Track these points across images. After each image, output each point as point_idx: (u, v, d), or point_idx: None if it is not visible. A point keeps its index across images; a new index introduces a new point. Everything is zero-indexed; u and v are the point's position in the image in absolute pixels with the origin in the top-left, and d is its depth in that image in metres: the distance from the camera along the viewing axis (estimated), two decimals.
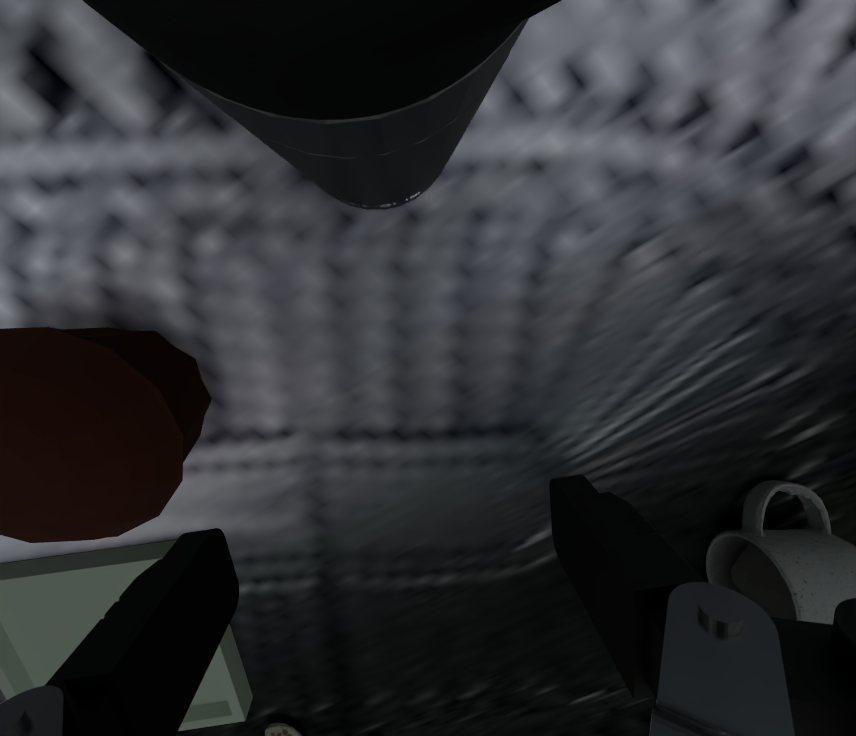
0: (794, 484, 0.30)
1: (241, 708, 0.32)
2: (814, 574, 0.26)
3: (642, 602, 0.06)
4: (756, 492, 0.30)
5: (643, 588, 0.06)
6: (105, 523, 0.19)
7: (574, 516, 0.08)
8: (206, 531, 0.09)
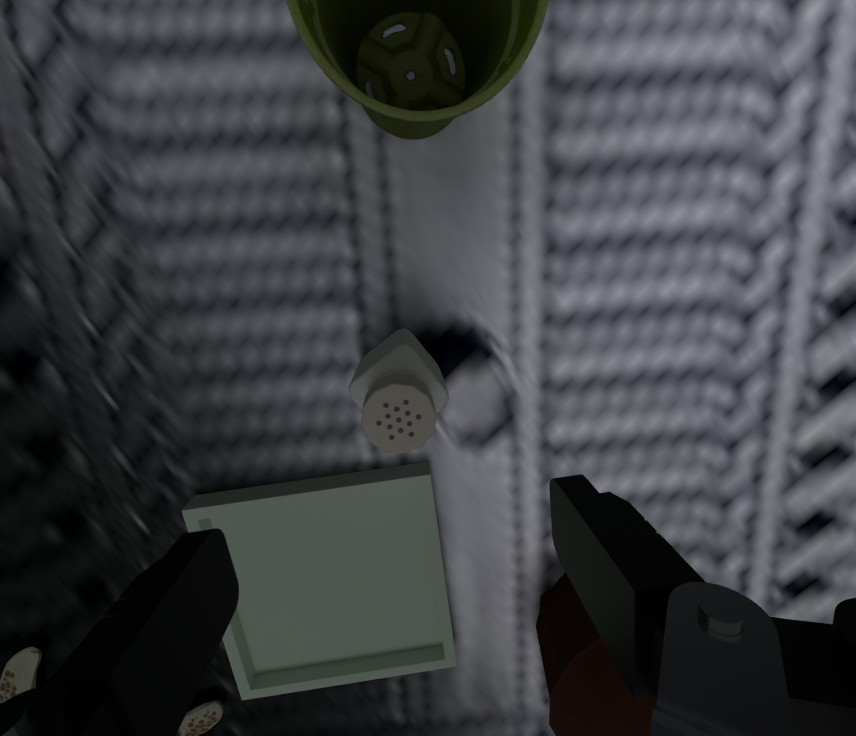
0: None
1: (259, 695, 0.30)
2: None
3: (642, 602, 0.06)
4: None
5: (643, 588, 0.06)
6: None
7: (574, 516, 0.08)
8: (206, 531, 0.09)
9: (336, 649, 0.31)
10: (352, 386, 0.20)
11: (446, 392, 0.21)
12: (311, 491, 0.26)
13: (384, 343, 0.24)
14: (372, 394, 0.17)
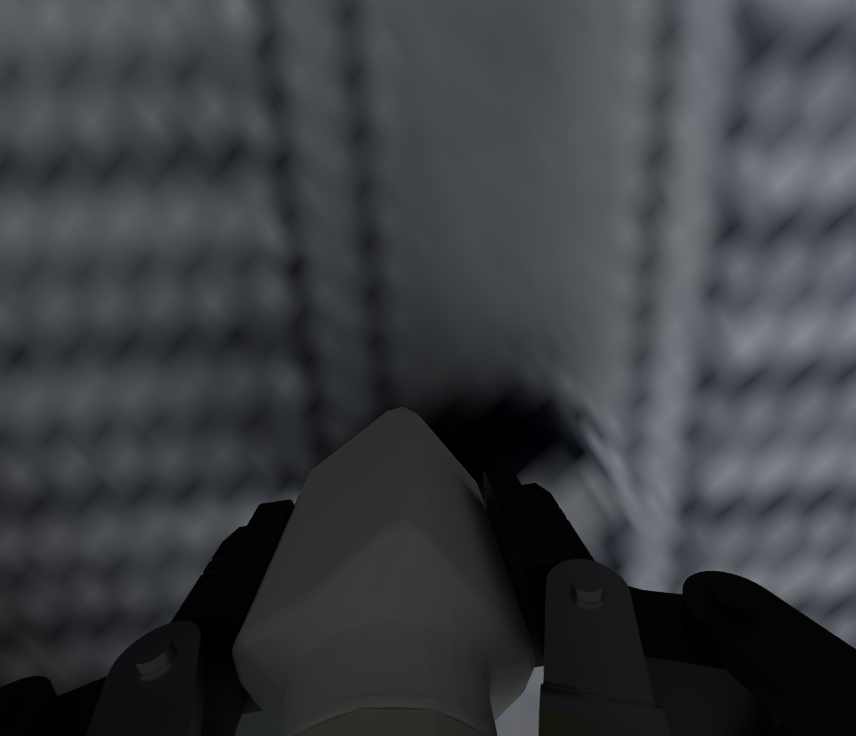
0: None
1: None
2: None
3: (531, 577, 0.07)
4: None
5: (533, 565, 0.07)
6: None
7: (495, 504, 0.09)
8: (281, 501, 0.10)
9: None
10: (240, 654, 0.06)
11: (532, 654, 0.07)
12: None
13: (356, 454, 0.10)
14: None
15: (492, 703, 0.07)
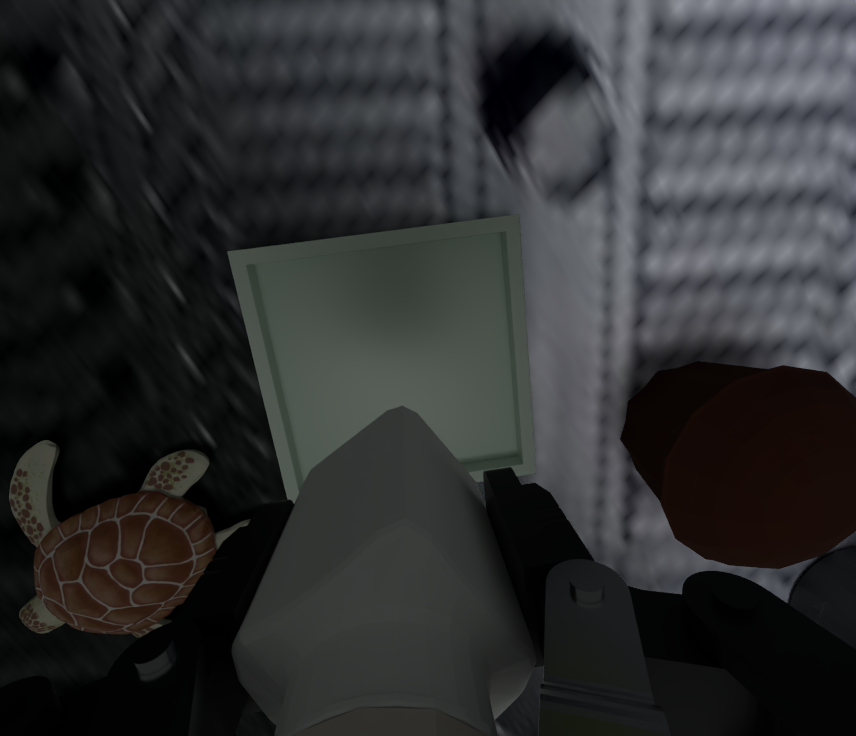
0: None
1: None
2: None
3: (531, 577, 0.07)
4: None
5: (533, 565, 0.07)
6: (729, 547, 0.20)
7: (495, 504, 0.09)
8: (281, 501, 0.10)
9: None
10: (240, 653, 0.06)
11: (532, 653, 0.07)
12: None
13: (356, 453, 0.10)
14: None
15: (492, 702, 0.06)
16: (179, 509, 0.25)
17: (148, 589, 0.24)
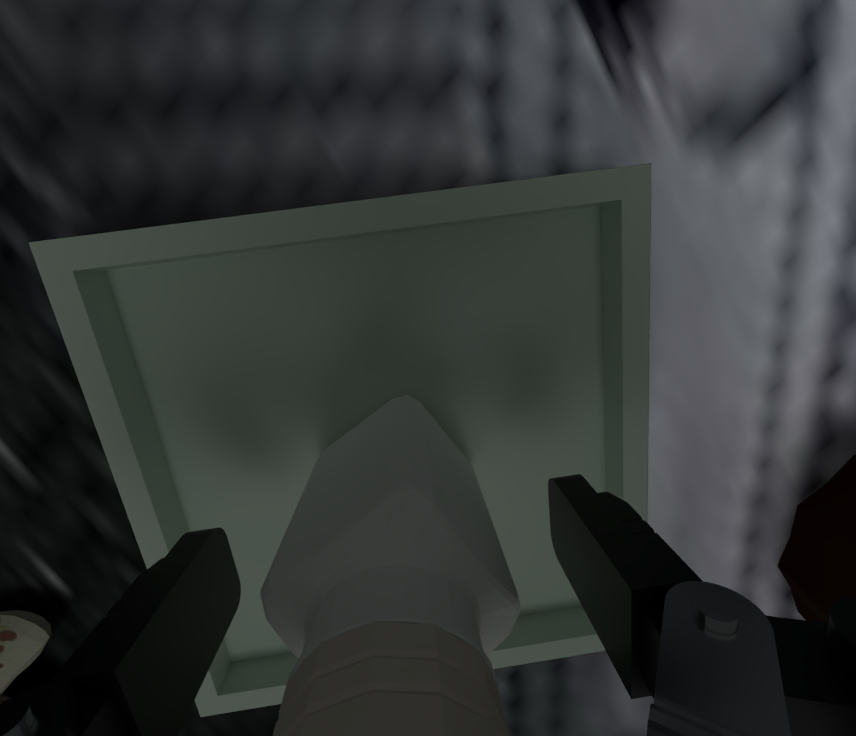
0: None
1: (236, 707, 0.14)
2: None
3: (639, 601, 0.06)
4: None
5: (640, 587, 0.06)
6: None
7: (572, 516, 0.08)
8: (208, 530, 0.09)
9: None
10: (268, 595, 0.07)
11: (517, 602, 0.08)
12: None
13: (364, 435, 0.11)
14: None
15: (481, 641, 0.08)
16: None
17: None
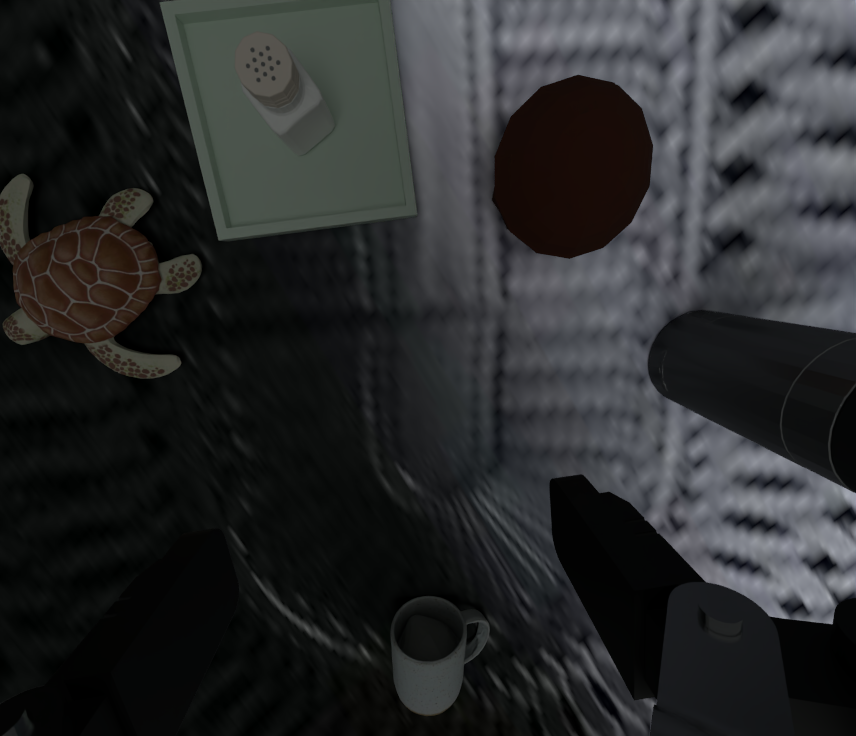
0: (488, 634, 0.45)
1: (234, 237, 0.33)
2: (461, 660, 0.39)
3: (642, 602, 0.06)
4: (481, 614, 0.44)
5: (643, 588, 0.06)
6: (536, 212, 0.27)
7: (574, 516, 0.08)
8: (206, 531, 0.09)
9: (306, 205, 0.33)
10: None
11: (319, 90, 0.26)
12: None
13: None
14: None
15: (306, 96, 0.26)
16: (127, 232, 0.32)
17: (102, 289, 0.31)
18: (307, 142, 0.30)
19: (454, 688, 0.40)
